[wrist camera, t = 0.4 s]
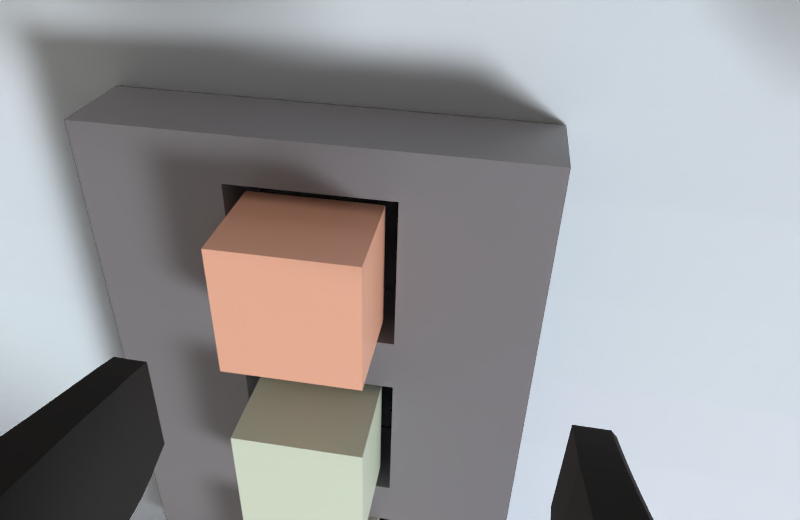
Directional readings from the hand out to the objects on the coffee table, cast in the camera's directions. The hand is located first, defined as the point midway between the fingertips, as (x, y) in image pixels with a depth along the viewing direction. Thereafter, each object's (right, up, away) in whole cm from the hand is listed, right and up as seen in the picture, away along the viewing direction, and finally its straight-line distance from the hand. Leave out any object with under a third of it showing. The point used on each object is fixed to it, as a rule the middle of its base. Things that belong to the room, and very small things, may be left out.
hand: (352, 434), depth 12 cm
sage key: (-2, -2, +10) cm, 10 cm away
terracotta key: (-1, +3, +7) cm, 7 cm away
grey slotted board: (-1, -1, +11) cm, 12 cm away
